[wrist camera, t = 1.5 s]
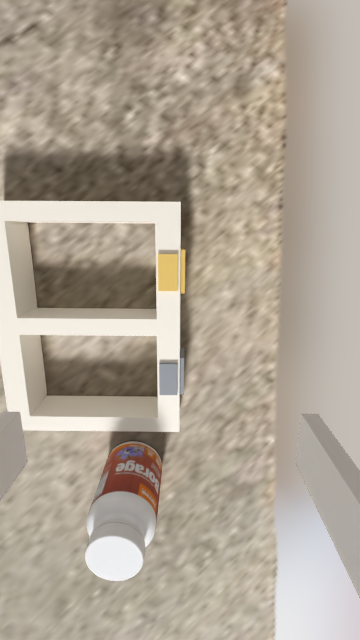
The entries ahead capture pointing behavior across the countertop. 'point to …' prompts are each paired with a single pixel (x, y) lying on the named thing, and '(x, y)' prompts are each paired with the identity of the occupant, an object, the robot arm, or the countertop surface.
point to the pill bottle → (124, 511)
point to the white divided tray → (88, 321)
